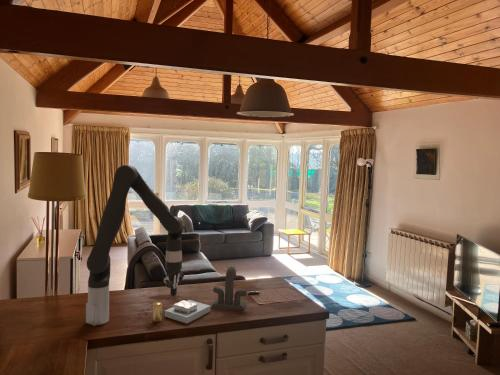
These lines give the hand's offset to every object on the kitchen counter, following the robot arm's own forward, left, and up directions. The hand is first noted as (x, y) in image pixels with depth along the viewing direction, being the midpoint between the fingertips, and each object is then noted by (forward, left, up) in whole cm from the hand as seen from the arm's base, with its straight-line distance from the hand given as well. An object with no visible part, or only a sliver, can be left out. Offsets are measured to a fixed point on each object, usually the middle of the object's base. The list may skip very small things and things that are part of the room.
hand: (173, 295), depth 186 cm
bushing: (-3, +7, -13) cm, 15 cm away
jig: (+11, 0, -13) cm, 17 cm away
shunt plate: (+9, 0, -9) cm, 13 cm away
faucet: (+35, -9, -13) cm, 38 cm away
